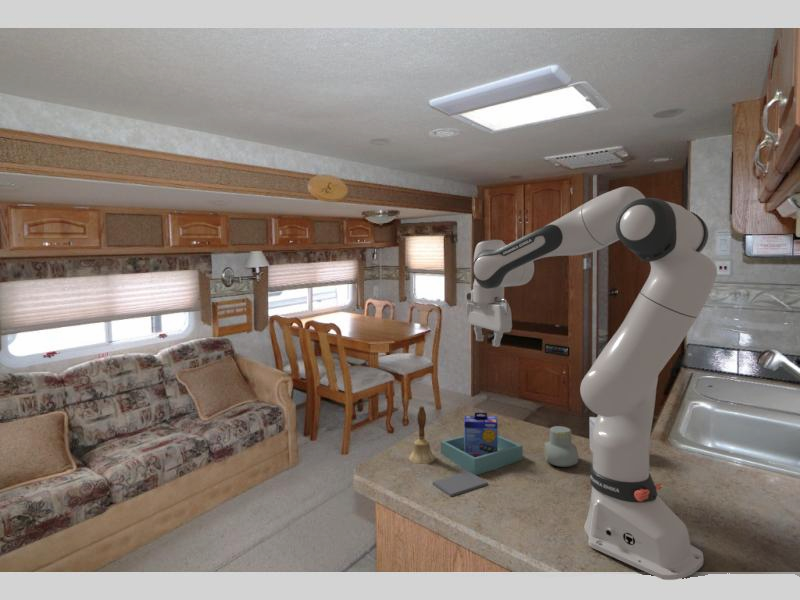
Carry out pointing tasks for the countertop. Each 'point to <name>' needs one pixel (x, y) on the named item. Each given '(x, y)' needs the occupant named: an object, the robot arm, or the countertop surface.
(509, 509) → the countertop surface
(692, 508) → the countertop surface
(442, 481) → the mat
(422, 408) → the hand bell
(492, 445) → the ink cartridge box
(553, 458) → the air freshener
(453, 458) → the bin
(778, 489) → the countertop surface
